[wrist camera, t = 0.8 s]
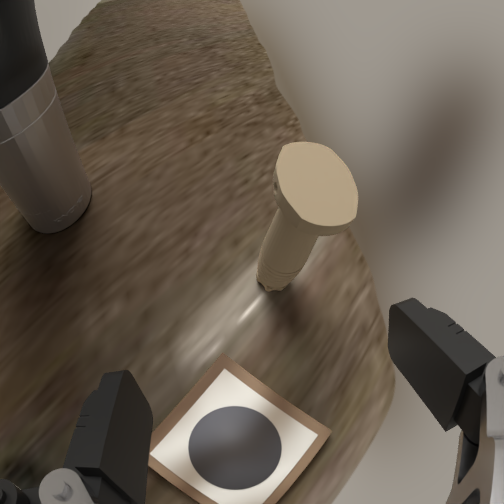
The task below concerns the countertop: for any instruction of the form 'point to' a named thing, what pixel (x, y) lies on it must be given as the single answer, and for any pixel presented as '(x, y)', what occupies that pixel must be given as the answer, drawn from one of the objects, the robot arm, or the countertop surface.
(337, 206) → the handle
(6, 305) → the countertop surface
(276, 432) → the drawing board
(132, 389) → the robot arm
